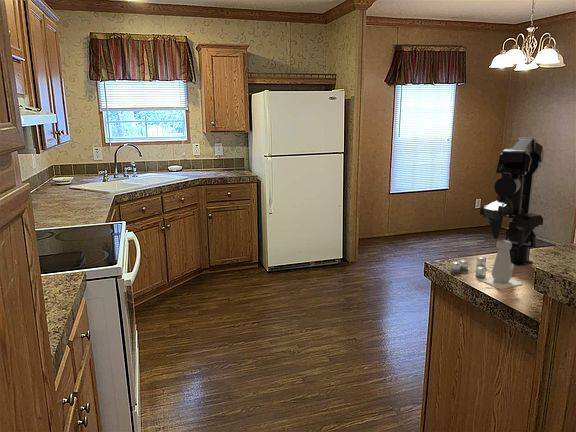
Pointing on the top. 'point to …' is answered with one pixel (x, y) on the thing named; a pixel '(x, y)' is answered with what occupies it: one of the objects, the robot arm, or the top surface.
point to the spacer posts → (480, 268)
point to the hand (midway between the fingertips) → (507, 242)
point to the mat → (501, 285)
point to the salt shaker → (502, 262)
